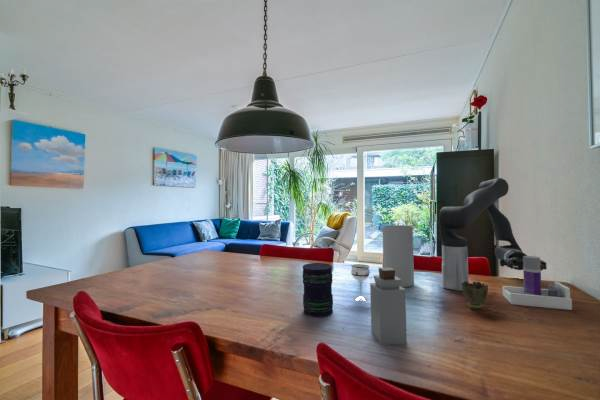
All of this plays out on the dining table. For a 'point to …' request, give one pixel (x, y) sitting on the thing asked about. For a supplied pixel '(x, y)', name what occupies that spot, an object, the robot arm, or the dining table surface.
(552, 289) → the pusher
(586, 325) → the dining table surface
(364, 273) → the wineglass
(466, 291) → the cup
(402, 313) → the perfume bottle
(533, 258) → the container
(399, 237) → the grey rectangular pillar
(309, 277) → the storage jar
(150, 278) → the dining table surface
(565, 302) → the white drawer
